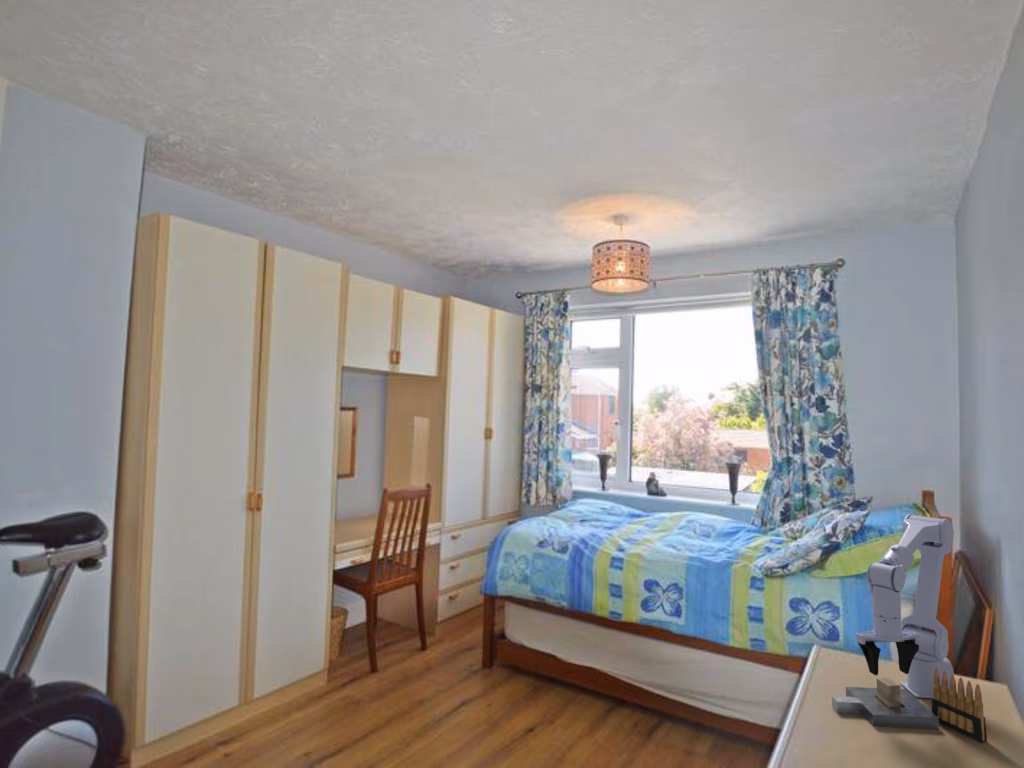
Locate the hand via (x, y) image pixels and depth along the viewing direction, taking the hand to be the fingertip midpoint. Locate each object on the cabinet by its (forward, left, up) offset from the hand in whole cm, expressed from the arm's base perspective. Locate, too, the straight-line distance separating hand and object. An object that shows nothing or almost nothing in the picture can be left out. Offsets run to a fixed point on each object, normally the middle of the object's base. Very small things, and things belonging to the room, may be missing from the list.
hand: (888, 672), depth 143 cm
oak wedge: (0, 0, -9) cm, 9 cm away
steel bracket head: (+3, 0, -9) cm, 10 cm away
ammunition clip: (-11, +7, -9) cm, 16 cm away
